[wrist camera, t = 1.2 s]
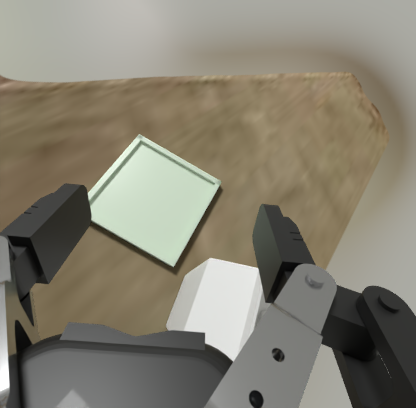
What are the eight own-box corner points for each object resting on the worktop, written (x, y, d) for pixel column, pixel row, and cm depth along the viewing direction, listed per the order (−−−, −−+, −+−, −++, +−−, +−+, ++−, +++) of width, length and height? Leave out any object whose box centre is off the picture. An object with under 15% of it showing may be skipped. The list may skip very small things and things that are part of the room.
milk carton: (165, 326, 31) (185, 359, 14) (185, 274, 34) (222, 248, 17) (214, 345, 32) (292, 400, 14) (229, 292, 35) (309, 285, 17)
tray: (76, 212, 34) (73, 209, 33) (139, 138, 41) (139, 134, 40) (172, 267, 34) (173, 266, 33) (219, 184, 41) (221, 181, 40)
